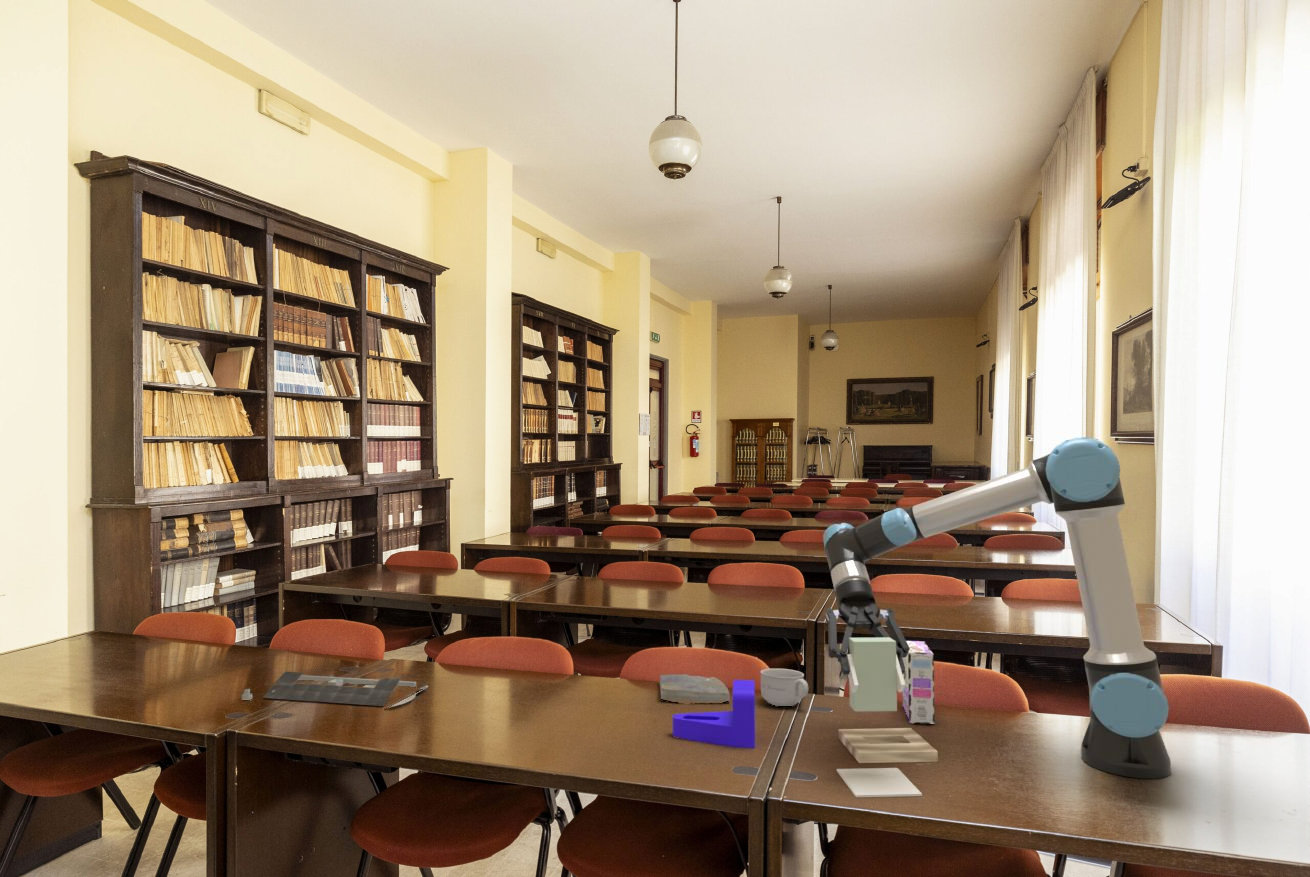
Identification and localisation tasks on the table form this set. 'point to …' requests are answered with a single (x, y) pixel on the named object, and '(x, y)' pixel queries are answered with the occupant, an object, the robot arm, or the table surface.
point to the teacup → (783, 686)
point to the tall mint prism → (874, 674)
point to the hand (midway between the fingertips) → (878, 688)
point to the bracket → (723, 721)
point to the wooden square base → (887, 745)
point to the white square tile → (878, 782)
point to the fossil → (693, 688)
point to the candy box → (919, 683)
